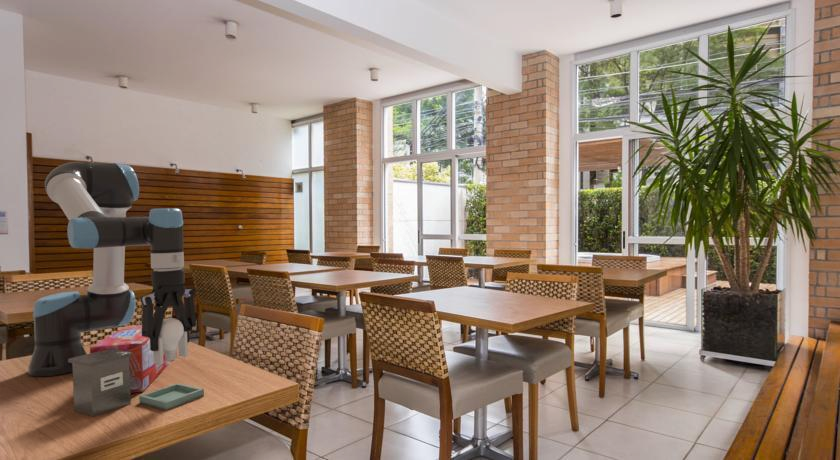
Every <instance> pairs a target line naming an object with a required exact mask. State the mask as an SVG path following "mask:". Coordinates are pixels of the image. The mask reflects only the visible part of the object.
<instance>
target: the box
mask: <svg viewBox="0 0 840 460" xmlns="http://www.w3.org/2000/svg"><path fill="white" fill-rule="evenodd" d="M107 349H116V350H122V351H127V352H132V353H133V356H130V357H129V369H130V394H131V393H132V394H133V393H143V392H144V391H145V390H146V389H148V387H149V386H150V385H151V384H152V383H153V382H154V381H155V380H156V379H157V377H158V376H160V375H161V373H162V372H163V371H164V370H165V369H166V368H167V367H168V366H169V364H170V361H167V360H165V359H166V357H165V356H166V355H165V350H164V348H163V364H156V363H154V358H153V351H151V349H150V338H149V337H144V336H142V324H139V325H127V326H126V325H124V326H123V327H122V328H120V329H118V330H116V331H115V332H113V333H111V334H110V335H108V336H106V337H105V338H103V339H101V340H100V341H97V342H96V343H95V344H93V345H91V346H90V347H89V354H90V353H95V352H99V351H103V350H107Z"/></svg>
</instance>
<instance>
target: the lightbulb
mask: <svg viewBox="0 0 840 460" xmlns="http://www.w3.org/2000/svg"><path fill="white" fill-rule="evenodd" d="M183 333H184V326H183V324H182V323H181V322H180V321H179V320H178V319H177V318H176V317H174V318H173V317H167V318H165V319H163V323H162V327H161V331H160V335H159V337H162V340H163V348H164V350H165V355H166V356H165V357H166V359H165V360H167V361H169V363H170V362H174V361H175V360H177V359H178V355H177V353H178V343H179V340H180V339H181V337H182V335H183Z"/></svg>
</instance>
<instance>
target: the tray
mask: <svg viewBox="0 0 840 460" xmlns="http://www.w3.org/2000/svg"><path fill="white" fill-rule="evenodd" d="M204 396H205V390H204V388H201V387H196V386H193V385H188V384H183V383H179V382H178V383H177V382H176V383H174V384H171V385H167V386H165V387H162V388H159V389H156V390H152V391H150V392H148V393H144V394H141V395H139V398H138V399H139V404H142V405H145V406H149V407H152V408H157V409H161V410H164V411H168V410H171V409H173V408H177V407H179V406H181V405H184V404H187V403H190V402H192V401H194V400H196V399H197V400H198V399H200V398H202V397H204Z"/></svg>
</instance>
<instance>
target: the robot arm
mask: <svg viewBox="0 0 840 460" xmlns="http://www.w3.org/2000/svg"><path fill="white" fill-rule="evenodd" d="M44 190H45V193H46V195H47V196H48V197H49V199H50V200H51V201H52V202H54V203H56V204H58V206H59V208H60V209H61V210H62V211H63V213H64V215H65V216H66V218H67V220H68V224H67V239H68V243H69V245H70V246H71V248H73V249H87V250H92V249H93V265H92V266H93V271H92V272H93V273H92V275H93V276H92V283H91V284H90V285H89V286H88V287H87V291H86V294H83V295H81V294H80V292H79V291H77V290H76V291H66V292H65V291H64V292H59V293H54V294H50V295H49V294H48V295H45V296H42V297H41V298H38V299H37V300H35V301H34V303H33V313H32V317H33V331H34V348H33V349H34V350H33V353H32V355H31V358H30V361H29V365H28V375H29V376H31V377H52V376H60V375H65V374H70V373H73V365H72V363H70V362H68V359H70V358H74V357H78V356H82V355H86V354H87V352H86V349H85V347H84V345H83V343H82V333H83V332H91V331H97V330H98V331H99V330H103V329H104V330H105V329H110V328H114V329H115V328H117V327H121V326H126V325H128V324H129V323H130V322H131V321H132V319H133V318H134V315H135V311H136V295H135V292H134V291H133V290H130V287H129V285H128V284H127V283H126V282H125V259H126V258H125V255H126V254H125V253H126V247H136V246H137V247H141V246H150V268H151V270H152V271H151V272H150V275H151V276H150V277H151V278H150V279H151V285H152V290H151V293H150V294H148V295H146V296H145V295H144V296H143V295H142V296H141V297H140V299H139V300H140V302H141V303H140V304H141V307H142V309H141V311H142V312H141V313H142V314H141V325H142V336H144V337H149V338H150V349H151V351H153V358H154V363H156V364H163V340H162V337H159V335H160V331H161V327H162V323H163V320H164V318H165V315H166V312H167V310H168V307H170V306H171V308H172V309H173V311H174V314H175V318H176V319H178V320H179V321H180V322H181V323H182V324H183V326H184V333H183V335H182V337H181V339H180V340H179V343H178V347H177V353H178V356H179V357H181V358H182V357H183V358H187V357H188V355H189V353H188V351H189V350H188V348H189V347H188V345H189V343H190V332H191V331H192V330H193V328H195V327H196V326H197V318H196V308H195V300H194V299H195V295H196V290H195V289H186V287H185V285H184V283H185V282H186V281H185V280H186V279H185V278H186V277H185V276H186V274H185V270H184V267H185V254H184V220H183V219H184V218H183V212H182V210H181V209H180V208H176V207H175V208H172V207H171V208H169V207H168V208H151V209H150V210H149V214H148V215H149V216H127V211H128V210H130V209H131V208H132V205H133V204H132V202H135V201H137V200H138V199H139V195H140V183H139V179H138V177H137V173H136V172H135V170H134V168H132V166H130V165H129V164H123V163H115V162H114V163H113V162H112V163H110V162H84V161H70V162H67V163H63V164H60V165H58V166H57V167H55V168H53V169H52V170H51V171H50V172H49V174H47V176H46V178H45V181H44ZM182 298H183V299H182ZM154 303H155V304H154Z"/></svg>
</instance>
